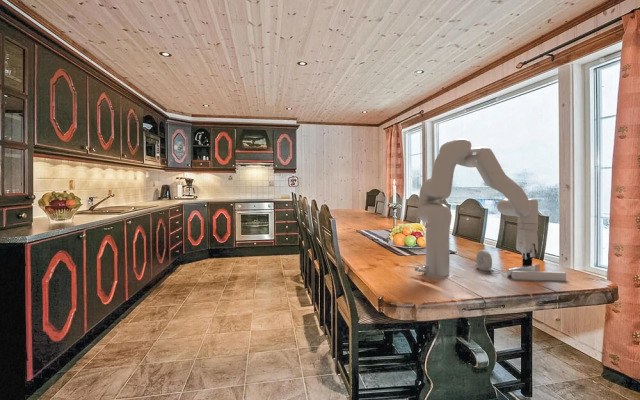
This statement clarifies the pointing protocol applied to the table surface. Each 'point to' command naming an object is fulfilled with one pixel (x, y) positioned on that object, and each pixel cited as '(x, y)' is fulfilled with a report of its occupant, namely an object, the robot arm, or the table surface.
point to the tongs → (537, 276)
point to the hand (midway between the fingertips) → (527, 268)
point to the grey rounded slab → (484, 260)
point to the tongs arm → (524, 269)
